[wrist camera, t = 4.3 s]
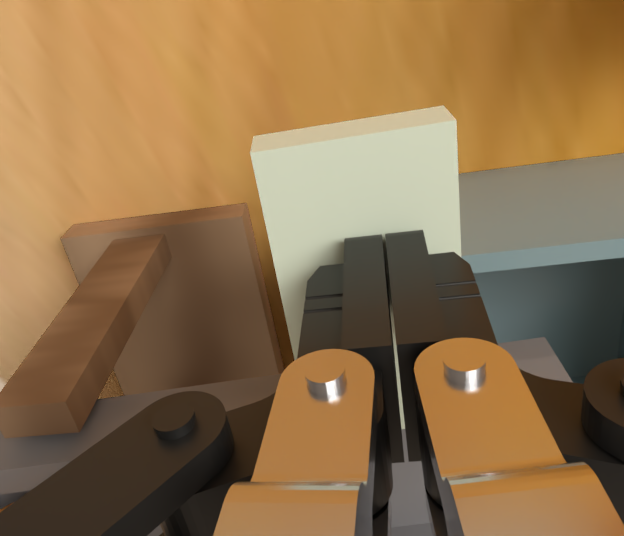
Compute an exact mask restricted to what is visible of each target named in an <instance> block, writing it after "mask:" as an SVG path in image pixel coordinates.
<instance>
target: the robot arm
mask: <svg viewBox="0 0 624 536" xmlns="http://www.w3.org/2000/svg"><path fill="white" fill-rule="evenodd" d="M385 239H386V248H387V258H388V268H389V278H390V287H391V297H392V307H393V317H394V326H395V336H396V346H397V355H398V365H399V374H400V384H401V393H402V403H403V412H404V422H405V431H406V441H407V450H408V460H409V462H415V461H422V469H423V477H424V486H425V497H426V507H427V512H428V516H429V521H430V526H431V530H432V535H433V536H624V358H619V359H613V360H609V361H606V362H603V363H601V364H599V365H597V366H595V367H594V368H593V369H592V370H591V371H590V372H589V373H588V374H587V376H586V378H585V381H584V384H580V383H573V382H565V381H558V380H552V379H547V378H542V377H539V376H535V375H533V374H530V373H528V372H525V371H523V370H521V369H519V368H518V366H517V364H516V362H515V360H514V359H513V357H512V356H511V355H510V354H509V353H508V352H507V351H506V350H504V349H503V348H502V347H500V346H498V343H497V341H496V338H495V335H494V332H493V329H492V326H491V323H490V320H489V318H488V315H487V312H486V309H485V306H484V303H483V300H482V297H480V292H479V289H478V286H477V283H476V280H475V277H474V274H473V271H472V269H471V266H470V264H469V263H468V262H466V261H465V260H464V259H463V258H461V257H460V256H459V255H457V254H456V253H455V252H447V253H437V254H428V249H427V245H426V241H425V236H424V232H423V230H414V231H405V232H396V233H387V234H385ZM303 311H304V314H303V318H302V325H301V333H300V340H299V348H298V355H297V359H296V360H295V361H293V362H292V363H291V364H290V365H289V366H288V367H287V368H286V369H285V370H284V371H283V373H282V374H281V377H280V379H279V382H278V386H277V389H276V392H275V393H273V394H272V395H270V396H268V397H266V398H264V399H262V400H260V401H257V402H255V403H252V404H249V405H245V406H242V407H239V408H236V409H233V410H230V411H227V412H226V410H225V408H224V405H223V403H222V402H221V401H220V400H219V399H218V398H217V397H215V396H214V395H211V394H209V393H205V392H201V391H185V392H179V393H175V394H171V395H169V396H166V397H163V398H161V399H159V400H157V401H155V402H153V403H152V404H150V405H149V406H147V407H146V408H144V409H143V410H142V411H140V412H139V413H138V414H136V415H135V416H133V417H132V418H131V419H129V420H128V421H126V422H125V423H124V424H122V425H121V426H119V427H118V428H117V429H115V430H114V431H113V432H111V433H110V434H108V435H107V436H106V437H104V438H103V439H101V440H100V441H99V442H97V443H96V444H95V445H93V446H92V447H90V448H89V449H88V450H86V451H85V452H83V453H82V454H81V455H79V456H78V457H76V458H75V459H74V460H72V461H71V462H70V463H68V464H67V465H65V466H64V467H63V468H61V469H60V470H58V471H57V472H56V473H54V474H53V475H51V476H50V477H49V478H47V479H46V480H45V481H43V482H42V483H40V484H39V485H38V486H36V487H35V488H33V489H32V490H31V491H29V492H28V493H26V494H25V495H24V496H22V497H21V498H20V499H18V500H17V501H15V502H14V503H13V504H11V505H10V506H8V507H7V508H6V509H4V510H3V511H1V512H0V536H147V535H148V534H150V533H151V532H152V531H153V530H154V529H155V528H156V527H158V526H159V525H160V526H161V528H162V531H163V533H162V534H160V535H159V536H391V525H392V504H391V493H392V489H393V475H392V463H403V462H405V461H404V450H403V440H402V429H401V419H400V408H399V398H398V387H397V377H396V366H395V356H394V345H393V335H392V325H391V315H390V305H389V296H388V287H387V278H386V268H385V259H384V250H383V241H382V234H379V235H370V236H361V237H352V238H345V239H344V263H343V264H334V265H324V266H319V268H318V269H317V270H316V271H315V272H314V274H313V275H312V276H311V277H310V278H309V280H308V281H307V287H306V295H305V302H304V310H303Z"/></svg>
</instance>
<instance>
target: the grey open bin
mask: <svg viewBox="0 0 624 536" xmlns="http://www.w3.org/2000/svg"><path fill="white" fill-rule="evenodd" d="M458 177H459V204H460V232H461V258H463V259H464V260H465V261H466V262H468V263H469V264H470V266H471V269H472V271H473V274H474V277H475V280H476V283H477V286H478V289H479V292H480V297H482V300H483V303H484V306H485V309H486V312H487V315H488V318H489V320H490V323H491V326H492V329H493V332H494V335H495V338H496V341H497V343H504V342H512V341H519V340H526V339H533V338H540V337H545V338H546V340H547V341H548V343H549V344H550V346H551V348H552V349H553V351H554V353H555V354H556V356H557V357H558V359H559V361H560V362H561V364H562V365H563V367H564V369H565V370H566V372H567V373H568V375H569V377H570V378H571V380H572V381H573V383H580V384H584V381H585V378H586V376H587V374H588V373H589V372H590V371H591V370H592V369H593V368H594V367H595V366H597V365H599V364H601V363H603V362H606V361H609V360H613V359H619V358H624V153H620V154H612V155H604V156H596V157H588V158H580V159H572V160H564V161H556V162H548V163H540V164H532V165H524V166H516V167H508V168H501V169H493V170H485V171H477V172H469V173H461V174H458Z"/></svg>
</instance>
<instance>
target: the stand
mask: <svg viewBox="0 0 624 536" xmlns="http://www.w3.org/2000/svg"><path fill="white" fill-rule="evenodd" d="M61 241H62V244H63V246H64V249H65V251H66V254H67V256H68V259H69V261H70V264H71V266H72V268H73V271H74V273H75V276H76V278H77V281H78V283H79V287H78V288H77V289H76V291H75V292H74V293H73V295H72V296H71V298H70V299H69V300H68V302H67V303H66V304H65V306H64V307H63V308H62V310H61V311H60V312H59V314H58V315H57V316H56V318H55V319H54V320H53V322H52V323H51V325H50V326H49V327H48V329H47V330H46V331H45V333H44V334H43V335H42V337H41V338H40V339H39V341H38V342H37V343H36V345H35V346H34V347H33V349H32V350H31V352H30V353H29V354H28V356H27V357H26V358H25V360H24V361H23V362H22V364H21V365H20V366H19V368H18V369H17V370H16V372H15V373H14V374H13V376H12V377H11V379H10V380H9V381H8V383H7V384H6V385H5V387H4V388H3V389H2V391H1V392H0V431H1V432H2V434H3V436H4V438H16V437H28V436H41V435H53V434H65V433H77V432H80V431H81V429H82V427H83V425H84V423H85V421H86V419H87V418H88V416H89V414H90V412H91V410H92V408H93V406H94V404H95V402H96V400H97V399H98V397H99V395H100V393H101V391H102V389H103V387H104V385H105V383H106V381H107V379H108V378H109V376H110V374H111V372H112V370H113V369H114V372H115V374H116V377H117V379H118V382H119V384H120V387H121V389H122V392H123V394H124V396H125V395H132V394H139V393H147V392H154V391H161V390H168V389H175V388H182V387H190V386H197V385H204V384H211V383H218V382H225V381H232V380H240V379H247V378H254V377H261V376H268V375H275V374H282V373H283V371H284V366H283V361H282V357H281V352H280V348H279V343H278V339H277V335H276V330H275V326H274V321H273V317H272V313H271V308H270V304H269V299H268V295H267V291H266V286H265V282H264V277H263V273H262V268H261V264H260V260H259V255H258V251H257V246H256V242H255V238H254V233H253V229H252V224H251V220H250V215H249V211H248V207H247V203H242V204H235V205H227V206H219V207H211V208H203V209H195V210H187V211H179V212H171V213H163V214H155V215H147V216H139V217H131V218H123V219H115V220H107V221H99V222H91V223H83V224H75V225H72V227H71V228H70V229H69V230H68V231H67V232H66V233H65V234H64V235H63V236H62V237H61Z"/></svg>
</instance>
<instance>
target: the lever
mask: <svg viewBox="0 0 624 536" xmlns="http://www.w3.org/2000/svg"><path fill="white" fill-rule="evenodd" d="M250 155H251V159H252V164H253V169H254V173H255V178H256V183H257V187H258V192H259V197H260V201H261V206H262V211H263V215H264V220H265V225H266V229H267V234H268V239H269V243H270V248H271V253H272V257H273V262H274V267H275V271H276V276H277V281H278V285H279V290H280V295H281V299H282V304H283V309H284V313H285V318H286V323H287V327H288V332H289V337H290V341H291V346H292V351H293V355H294V360H296V359H297V355H298V348H299V340H300V333H301V325H302V318H303V314H304V311H303V310H304V302H305V295H306V287H307V281H308V280H309V278H310V277H311V276H312V275H313V274H314V272H315V271H316V270H317V269H318V268H319V266H324V265H334V264H343V263H344V239H345V238H352V237H361V236H370V235H379V234H382V241H383V250H384V259H385V268H386V278H387V287H388V296H389V305H390V315H391V325H392V335H393V345H394V356H395V366H396V377H397V387H398V398H399V408H400V419H401V429H402V440H403V450H404V461H405V462H403V463H392V475H393V489H392V493H391V504H392V525H391V536H433V535H432V530H431V526H430V521H429V516H428V512H427V507H426V497H425V486H424V477H423V469H422V461H415V462H409V460H408V450H407V441H406V431H405V422H404V412H403V403H402V393H401V384H400V374H399V365H398V355H397V346H396V336H395V326H394V317H393V307H392V297H391V287H390V278H389V268H388V258H387V248H386V239H385V234H387V233H396V232H405V231H414V230H423V232H424V236H425V241H426V245H427V249H428V254H437V253H447V252H455V253H456V254H457V255H459V256H460V257H461V232H460V204H459V177H458V150H457V123H456V119H455V118H454V117H453V116H452V114H451V113H450V112H449V111H448V110H447V109H446V108H445V106H444V105H443V106H437V107H431V108H424V109H418V110H412V111H406V112H400V113H393V114H387V115H381V116H375V117H369V118H363V119H356V120H350V121H344V122H338V123H332V124H325V125H319V126H313V127H307V128H301V129H294V130H288V131H282V132H276V133H270V134H263V135H257V136H253V141H252V146H251V151H250ZM498 346H500V347H502V348H503V349H504V350H506V351H507V352H508V353H509V354H510V355H511V356H512V357H513V359H514V360H515V362H516V364H517V366H518V368H519V369H521V370H523V371H525V372H528V373H530V374H533V375H535V376H539V377H542V378H547V379H552V380H558V381H565V382H573V381H572V380H571V378H570V377H569V375H568V373H567V372H566V370H565V369H564V367H563V365H562V364H561V362H560V361H559V359H558V357H557V356H556V354H555V353H554V351H553V349H552V348H551V346H550V344H549V343H548V341H547V340H546V338H545V337H540V338H533V339H526V340H519V341H512V342H504V343H498ZM280 377H281V374H275V375H268V376H261V377H254V378H247V379H240V380H232V381H225V382H218V383H211V384H204V385H197V386H190V387H182V388H175V389H168V390H161V391H154V392H147V393H139V394H132V395H125V396H118V397H111V398H104V399H97V400H96V402H95V404H94V406H93V408H92V410H91V412H90V414H89V416H88V418H87V419H86V421H85V423H84V425H83V427H82V429H81V431H80V432H77V433H65V434H53V435H41V436H28V437H16V438H4V436H3V434H2V432H1V431H0V509H2V508H3V507H5V506H7V505H9V504H11V503H13V502H15V501H17V500H18V499H20V498H21V497H22V496H24V495H25V494H26V493H28V492H29V491H31V490H32V489H33V488H35V487H36V486H38V485H39V484H40V483H42V482H43V481H45V480H46V479H47V478H49V477H50V476H51V475H53V474H54V473H56V472H57V471H58V470H60V469H61V468H63V467H64V466H65V465H67V464H68V463H70V462H71V461H72V460H74V459H75V458H76V457H78V456H79V455H81V454H82V453H83V452H85V451H86V450H88V449H89V448H90V447H92V446H93V445H95V444H96V443H97V442H99V441H100V440H101V439H103V438H104V437H106V436H107V435H108V434H110V433H111V432H113V431H114V430H115V429H117V428H118V427H119V426H121V425H122V424H124V423H125V422H126V421H128V420H129V419H131V418H132V417H133V416H135V415H136V414H138V413H139V412H140V411H142V410H143V409H144V408H146V407H147V406H149V405H150V404H152V403H153V402H155V401H157V400H159V399H161V398H163V397H166V396H169V395H171V394H175V393H179V392H185V391H201V392H205V393H209V394H211V395H214V396H215V397H217V398H218V399H219V400H220V401H221V402H222V403H223V405H224V408H225V410H226V412H227V411H230V410H233V409H236V408H239V407H242V406H245V405H249V404H252V403H255V402H257V401H260V400H262V399H264V398H266V397H268V396H270V395H272V394H273V393H275V392H276V389H277V386H278V382H279V379H280ZM162 533H163V531H162V528H161V526H160V525H159V526H158V527H156V528H155V529H154V530H153V531H152V532H151V533H150V534H148V535H147V536H159V535H160V534H162Z"/></svg>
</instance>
